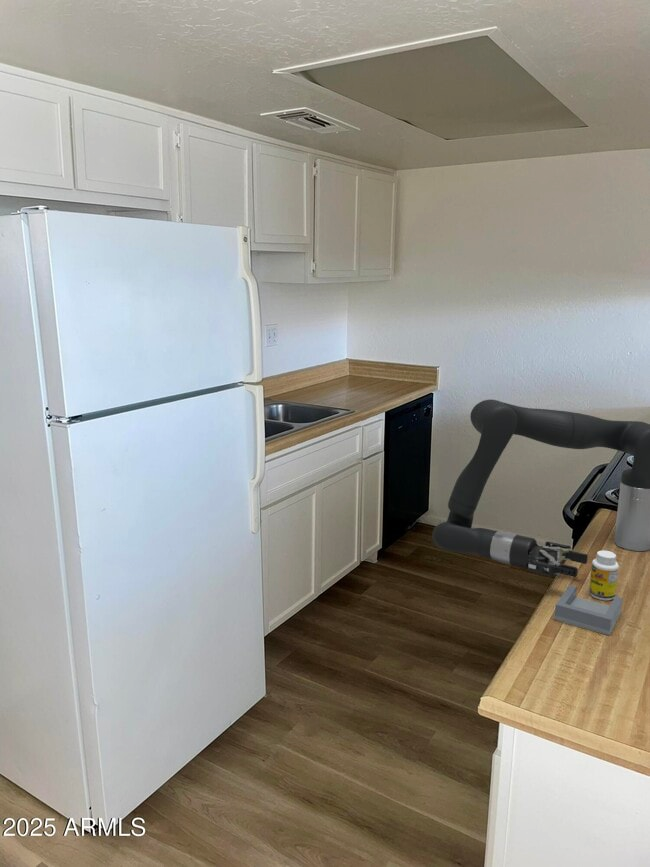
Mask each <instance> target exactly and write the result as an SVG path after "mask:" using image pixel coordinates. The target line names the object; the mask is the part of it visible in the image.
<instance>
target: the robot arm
mask: <svg viewBox="0 0 650 867" xmlns="http://www.w3.org/2000/svg"><path fill="white" fill-rule="evenodd" d="M469 416H470V422H471V424H472V427H473V428H474V429H475V430H476V431H477V432H478V433H479V434H480V438H479V440H478V441H479V443H478V445H477V448H476V450H475V453H474V454H473V456H472V458H471V459H470V461H469V463H468V464H466V466H465V468H463V469H462V471H461V472H460V474H459V476H458V477H457V479H456V481H455V484H454V486H453V489H452V491H451V493H450V496H449V499H448V503H447V507H448V510H449V514H448V517H447V520H446V521H443V522H441V523H439V524H437V525H436V526H434V529H433V530H432V540H433V542H434V544H435V545H436V546H437V547H439V548H440V549H442V550H444V551H448V552H451V553H452V552H453V553H458V554H459V553H460V554H469V555H476V556H479V557H482V558H486V559H489V560H494V561H497V562H499V563H500V564H501V563H502V564H506V565H510V566H514V567H519V568H522V569H525V570H528V571H530V572H533V573H536V574H539V575H544V576H546V577H551V578H553V577H555V575H557V576H558V575H564V576H568V577H572V578H577V576H578V575H579V574H578V572H579V568H578V567H577V566H572V565H569V564H565V563H561V562H562V561H570V562H571V561H572V562H575V563H580V564H584V565H586V564H587V563H588V560H589V559H588V558H589V554H587V553H582V552H579V551H578V552H577V551H574V550H572V546H571V545H566V544H561V543H557V542H553V541H548V540H547V541H545V545H538V543H537V542H538V541H537V540H536V538H534V537H530V536H526V535H520V534H516V533H513V532H507V531H500V530H499V531H498V530H495V529H489V528H484V527H473V521H474V515H475V512H476V510H477V507H478V505H479V502H480V500H481V497H482V494H483V492H484V489H485V486H486V484H487V482H488V480H489V478H490V476H491V474H492V472H493V471H494V468H495V466H496V465H497V463H498V461H499V459H500V458H501V456H502V454H503V452H504V451H505V449H506V448H507V446H508V445H509V442H510V440H511V439H512V436H521V437H525V438H527V439H531V440H533V441H537V442H539V443H542V444H545V445H550V446H553V447H557V448H565V449H572V450H587V449H594V448H607V449H610V450H611V449H612V450H614V451H615V450H616V451H618V452H623V453H625V454H627V455H630V456H632V457H633V460H632V467H631V468H626V469H624V470H623V471H622V472H621V476H620V477H621V478H620V486H619V496H618V504H617V512H616V513H617V515H616V520H615V531H614V537H613V538H614V541H613V542H614V544H615V545H616V546H618V547H620V548H623V549H625V550H628V551H629V550H630V551H634V552H646V551H649V550H650V423H647V422H644V421H635V420H634V421H632V420H629V421H628V420H610V419H603V418H600V417H597V416H593V415H588V414H584V413H579V412H572V411H565V410H557V409H547V408H546V409H545V408H534V407H533V408H531V407H524V406H518V405H514V404H511V403H507V402H504V401H500V400H496V399H485V400H481V401H480V402H478V403H477V404H475V406H473V408H472V410H471V412H470V415H469ZM472 527H473V528H472Z"/></svg>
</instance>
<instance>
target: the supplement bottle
mask: <svg viewBox="0 0 650 867" xmlns="http://www.w3.org/2000/svg"><path fill="white" fill-rule="evenodd" d="M616 560H617V554H615V553H614V552H612V551H609V550H598V551H597V553H596V558H594V559H593V560H592V562H591V571H590V580H589V587H588V588H589V589H588V590H589V595H591V597H593V598H594V599H597V600H601V601H611V600H612V601H613V599H614V598H615V596H616V595H617V594H616V593H617V586H618V578H619V569H620V566H619V563H618V562H617V561H616Z"/></svg>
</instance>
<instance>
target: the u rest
mask: <svg viewBox="0 0 650 867" xmlns="http://www.w3.org/2000/svg"><path fill="white" fill-rule="evenodd" d="M577 589H578V586H577V585H573V584H572V585H571V584H569V586H568V587H567V588H566V589H565V591H564V592H563V593H562V595H561V596H560V598H559V599H558V601H556V603H555V605H554V607H555V608H554V617H553V618H554V620H555V621H558V622H561V623H565V624H568V625H572V626H575V627H579V628H582V629H586V630H588V631H593V632H597V633H600V634H603V635H606V636H611V633H612V631H613V629H614V627H615V626H616V623H617V622H618V620H619V618H620V616H621V614H622V606H623V598H622V597H620V596H616V595H615V598H614V599H612V601H611V603H610V605H608V604H605V603H602V602H597V601H594V600H590V599H586V598H581V597H578V596H577Z"/></svg>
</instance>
